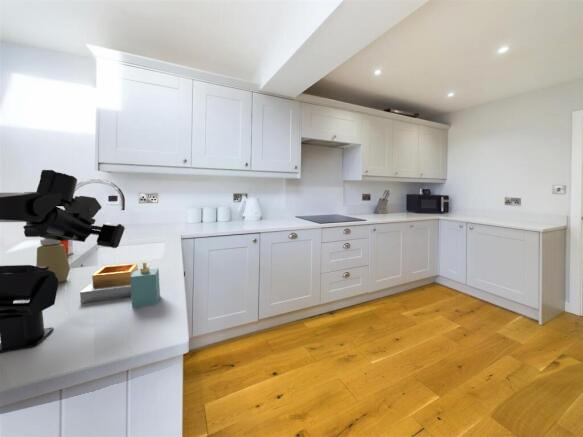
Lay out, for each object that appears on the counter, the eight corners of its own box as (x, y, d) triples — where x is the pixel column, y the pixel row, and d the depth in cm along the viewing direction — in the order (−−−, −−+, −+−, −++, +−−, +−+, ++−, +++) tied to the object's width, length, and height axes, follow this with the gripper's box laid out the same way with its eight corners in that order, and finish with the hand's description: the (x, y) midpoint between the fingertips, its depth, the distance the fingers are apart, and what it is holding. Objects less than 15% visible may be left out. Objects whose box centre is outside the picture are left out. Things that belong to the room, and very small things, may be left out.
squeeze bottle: (50, 287, 76) (44, 229, 75) (30, 285, 78) (23, 229, 76) (77, 278, 84) (72, 226, 83) (58, 277, 86) (53, 225, 84)
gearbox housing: (133, 296, 69) (132, 275, 69) (81, 303, 65) (79, 281, 65) (146, 275, 87) (145, 258, 87) (105, 279, 83) (104, 262, 82)
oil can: (157, 304, 65) (154, 264, 64) (132, 307, 63) (129, 266, 62) (160, 296, 70) (157, 259, 69) (137, 299, 68) (134, 261, 67)
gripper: (114, 196, 60) (144, 217, 75) (34, 185, 59) (81, 208, 74) (96, 241, 56) (132, 253, 71) (11, 229, 56) (65, 244, 70)
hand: (103, 238), depth 72 cm, fingers open, 9 cm apart
